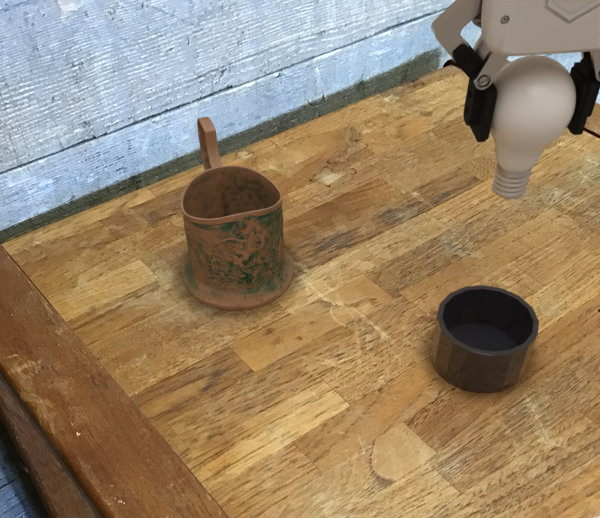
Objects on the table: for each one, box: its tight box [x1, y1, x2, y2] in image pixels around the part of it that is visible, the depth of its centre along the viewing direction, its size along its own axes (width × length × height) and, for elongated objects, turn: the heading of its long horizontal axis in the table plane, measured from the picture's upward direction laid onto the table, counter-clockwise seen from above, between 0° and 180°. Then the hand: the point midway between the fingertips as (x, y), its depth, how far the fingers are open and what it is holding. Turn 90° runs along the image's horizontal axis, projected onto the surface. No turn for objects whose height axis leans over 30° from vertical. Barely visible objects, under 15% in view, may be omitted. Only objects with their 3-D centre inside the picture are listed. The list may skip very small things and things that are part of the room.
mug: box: [180, 116, 295, 311], centre depth 74 cm, size 12×18×12 cm, turn 18°
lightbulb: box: [489, 55, 576, 200], centre depth 55 cm, size 6×6×11 cm
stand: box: [430, 284, 540, 394], centre depth 67 cm, size 9×9×5 cm
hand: (524, 126), depth 54 cm, fingers closed on lightbulb, 6 cm apart
